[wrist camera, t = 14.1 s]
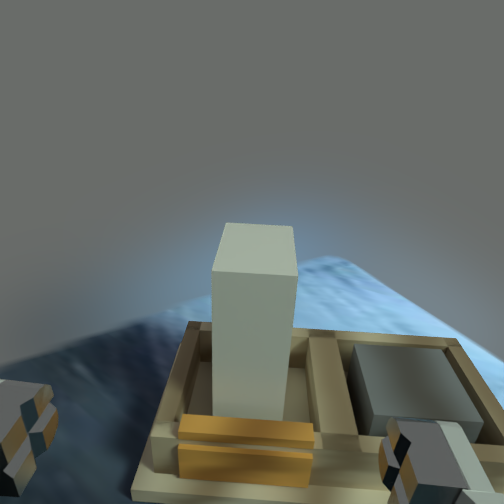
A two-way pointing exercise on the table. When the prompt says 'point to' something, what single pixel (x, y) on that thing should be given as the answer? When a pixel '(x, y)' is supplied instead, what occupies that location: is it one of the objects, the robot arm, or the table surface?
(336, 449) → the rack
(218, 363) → the white carton
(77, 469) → the table surface
